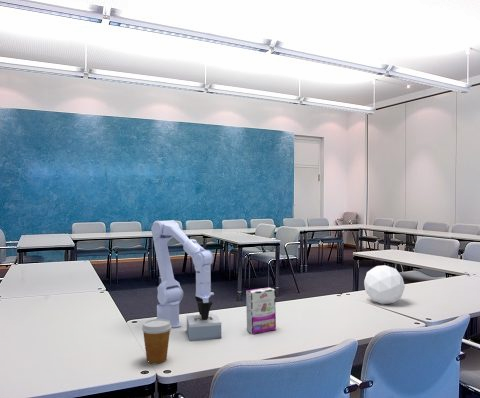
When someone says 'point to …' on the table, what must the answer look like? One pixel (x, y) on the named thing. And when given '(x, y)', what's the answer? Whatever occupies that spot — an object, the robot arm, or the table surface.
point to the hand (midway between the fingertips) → (203, 317)
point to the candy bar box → (260, 310)
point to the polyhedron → (384, 284)
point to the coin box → (203, 327)
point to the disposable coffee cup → (156, 339)
